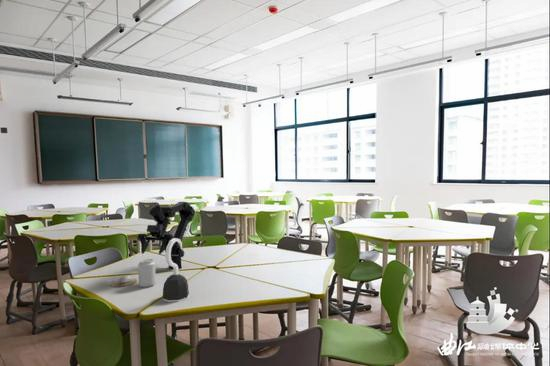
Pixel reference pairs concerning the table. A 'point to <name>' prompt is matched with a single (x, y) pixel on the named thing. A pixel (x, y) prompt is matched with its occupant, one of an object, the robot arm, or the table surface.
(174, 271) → the hook
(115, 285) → the stub stand
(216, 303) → the table surface
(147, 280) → the can
